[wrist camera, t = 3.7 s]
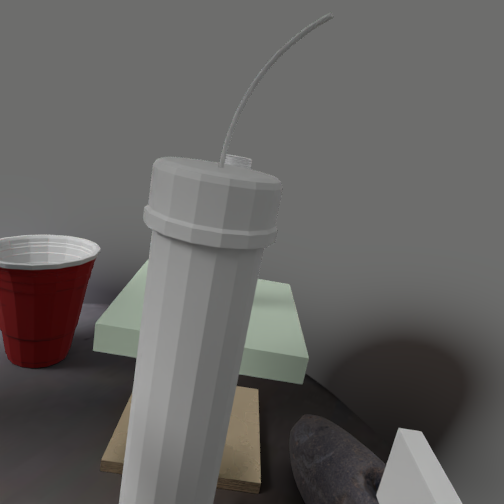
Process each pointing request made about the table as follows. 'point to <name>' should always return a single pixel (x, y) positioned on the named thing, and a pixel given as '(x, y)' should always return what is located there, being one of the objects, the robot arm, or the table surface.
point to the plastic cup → (42, 295)
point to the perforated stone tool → (332, 464)
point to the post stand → (238, 435)
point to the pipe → (196, 317)
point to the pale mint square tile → (257, 340)
